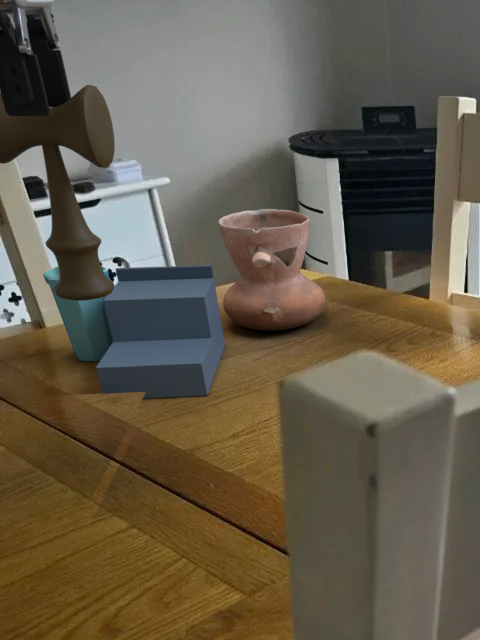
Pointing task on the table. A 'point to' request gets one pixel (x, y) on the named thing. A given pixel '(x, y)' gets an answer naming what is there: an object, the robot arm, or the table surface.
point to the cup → (83, 322)
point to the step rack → (162, 332)
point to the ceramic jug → (270, 270)
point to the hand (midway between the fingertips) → (40, 108)
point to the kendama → (67, 182)
